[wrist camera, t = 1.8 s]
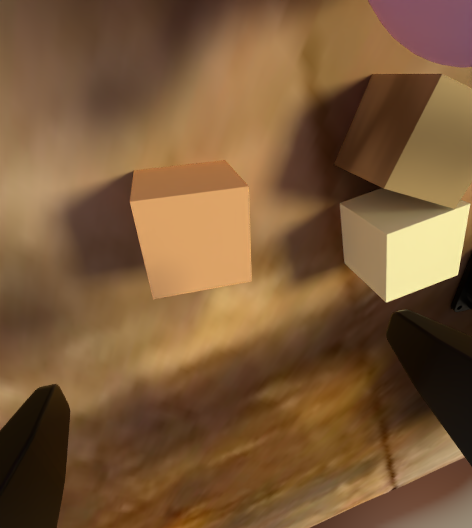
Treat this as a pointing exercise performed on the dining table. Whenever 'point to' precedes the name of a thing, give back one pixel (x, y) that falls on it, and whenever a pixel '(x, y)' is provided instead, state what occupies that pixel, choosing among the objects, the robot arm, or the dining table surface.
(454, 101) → the walnut cube
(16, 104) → the dining table surface
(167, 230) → the terracotta cube
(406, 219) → the cream cube
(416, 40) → the teapot
